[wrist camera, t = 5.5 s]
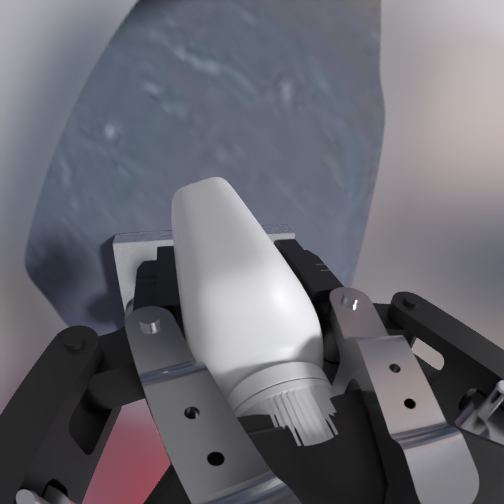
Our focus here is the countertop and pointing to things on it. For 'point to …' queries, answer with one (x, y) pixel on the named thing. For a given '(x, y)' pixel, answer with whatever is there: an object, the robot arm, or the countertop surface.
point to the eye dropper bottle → (248, 313)
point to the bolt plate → (145, 248)
